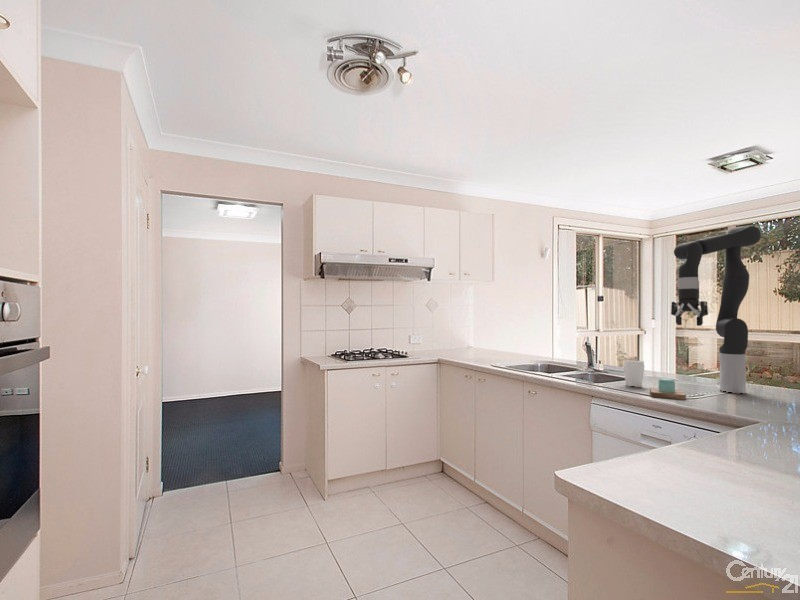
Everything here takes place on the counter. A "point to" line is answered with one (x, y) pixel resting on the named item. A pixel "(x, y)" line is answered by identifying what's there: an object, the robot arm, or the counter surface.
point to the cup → (633, 372)
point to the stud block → (667, 394)
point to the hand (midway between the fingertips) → (689, 325)
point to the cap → (666, 385)
